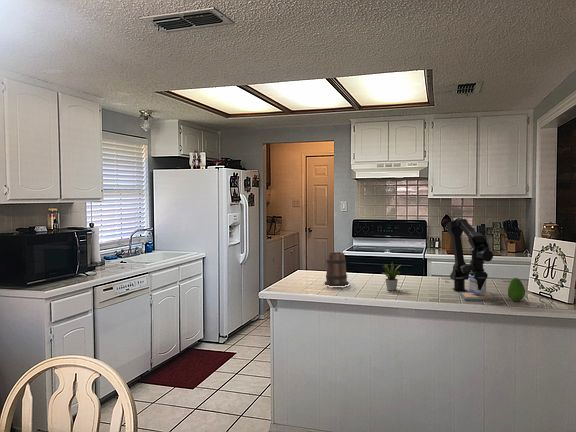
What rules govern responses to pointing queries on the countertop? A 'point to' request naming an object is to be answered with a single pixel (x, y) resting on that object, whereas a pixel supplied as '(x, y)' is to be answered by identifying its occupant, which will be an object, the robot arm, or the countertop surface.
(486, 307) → the countertop surface
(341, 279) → the tankard
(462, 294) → the mat
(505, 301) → the countertop surface
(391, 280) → the house plant
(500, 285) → the countertop surface
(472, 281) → the medicine box
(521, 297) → the avocado
